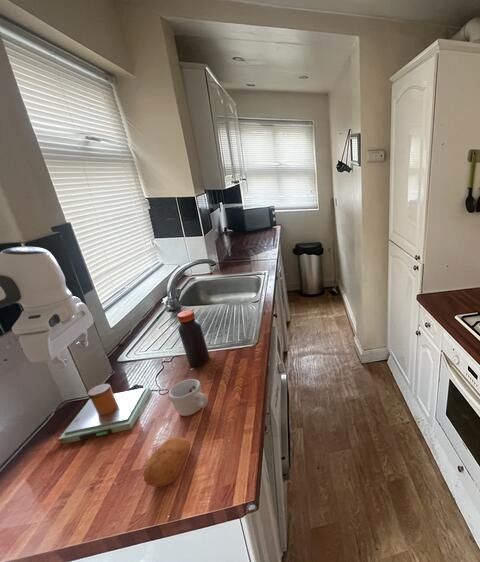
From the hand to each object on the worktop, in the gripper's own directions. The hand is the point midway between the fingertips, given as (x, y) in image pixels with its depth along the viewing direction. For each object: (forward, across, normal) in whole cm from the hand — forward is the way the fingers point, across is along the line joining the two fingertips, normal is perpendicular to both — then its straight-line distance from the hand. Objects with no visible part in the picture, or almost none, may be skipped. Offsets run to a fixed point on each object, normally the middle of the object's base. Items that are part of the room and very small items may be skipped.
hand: (74, 356), depth 82 cm
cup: (+21, +6, +26) cm, 34 cm away
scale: (+21, +1, +2) cm, 21 cm away
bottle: (+21, -20, +22) cm, 36 cm away
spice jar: (+18, +1, +3) cm, 19 cm away
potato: (+21, +25, +25) cm, 41 cm away
